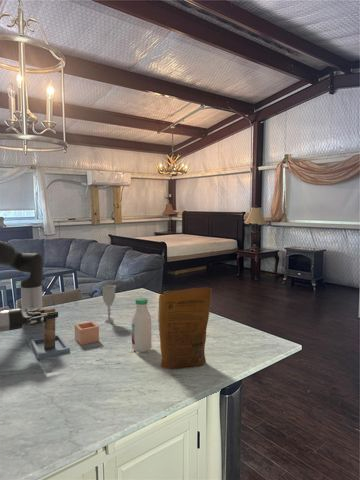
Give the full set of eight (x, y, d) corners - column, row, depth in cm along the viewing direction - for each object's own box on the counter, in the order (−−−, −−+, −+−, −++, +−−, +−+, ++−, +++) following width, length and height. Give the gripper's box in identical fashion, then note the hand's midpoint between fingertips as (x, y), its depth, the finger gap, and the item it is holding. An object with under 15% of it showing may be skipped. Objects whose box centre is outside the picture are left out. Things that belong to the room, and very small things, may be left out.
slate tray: (30, 346, 130) (30, 339, 130) (59, 340, 137) (59, 334, 136) (38, 361, 117) (38, 354, 117) (70, 354, 123) (69, 347, 123)
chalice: (112, 326, 153) (112, 288, 151) (99, 325, 154) (98, 288, 153) (118, 321, 160) (118, 285, 158) (105, 320, 161) (105, 284, 160)
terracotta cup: (74, 340, 136) (74, 324, 135) (92, 337, 140) (92, 321, 140) (80, 347, 130) (80, 330, 129) (99, 343, 134) (98, 326, 133)
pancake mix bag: (213, 368, 113) (214, 288, 111) (158, 373, 110) (158, 291, 107) (207, 359, 120) (209, 284, 118) (156, 363, 116) (156, 286, 114)
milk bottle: (154, 346, 131) (154, 297, 129) (146, 354, 124) (146, 302, 122) (137, 343, 134) (137, 295, 132) (128, 351, 127) (127, 300, 125)
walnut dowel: (43, 346, 127) (43, 308, 126) (53, 344, 130) (54, 307, 129) (45, 350, 124) (45, 311, 123) (56, 348, 126) (56, 309, 125)
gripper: (9, 315, 111) (60, 307, 121) (4, 305, 123) (51, 298, 133) (9, 336, 112) (61, 327, 122) (5, 324, 124) (52, 316, 133)
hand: (56, 312), depth 127 cm, fingers open, 4 cm apart
